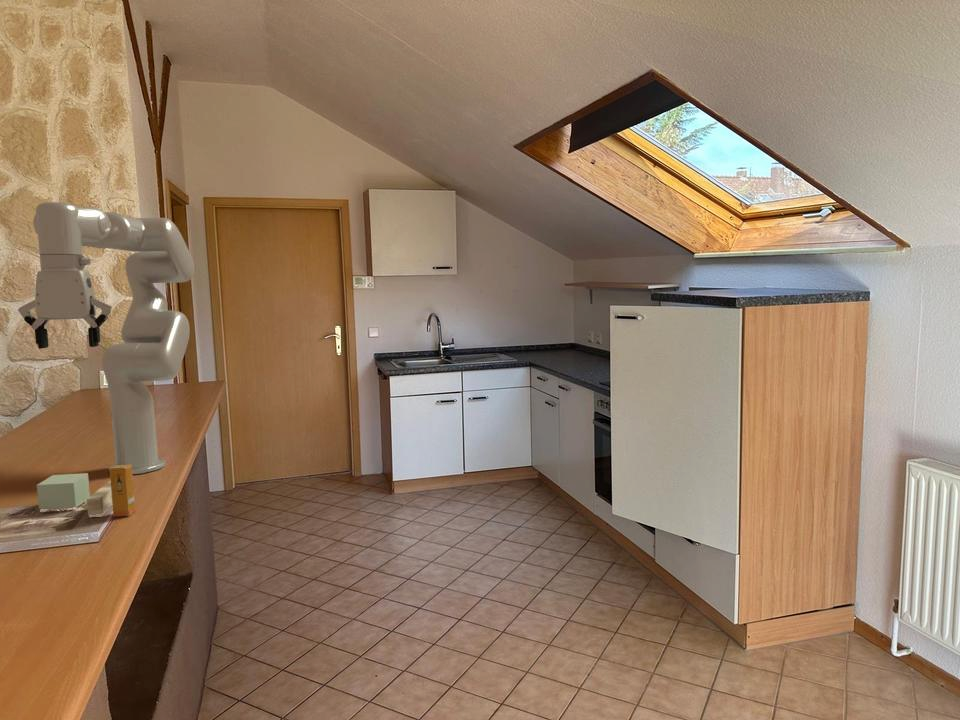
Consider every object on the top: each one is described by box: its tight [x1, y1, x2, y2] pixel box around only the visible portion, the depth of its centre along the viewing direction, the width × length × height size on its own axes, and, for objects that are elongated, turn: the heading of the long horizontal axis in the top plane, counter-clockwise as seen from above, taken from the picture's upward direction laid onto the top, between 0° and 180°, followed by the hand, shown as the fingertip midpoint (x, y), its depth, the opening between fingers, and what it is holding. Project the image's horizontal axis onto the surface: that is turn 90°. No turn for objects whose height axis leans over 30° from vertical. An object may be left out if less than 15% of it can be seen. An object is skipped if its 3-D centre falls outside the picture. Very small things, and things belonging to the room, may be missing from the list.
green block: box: [36, 472, 91, 510], centre depth 142 cm, size 7×7×6 cm
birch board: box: [86, 480, 112, 515], centre depth 143 cm, size 18×2×4 cm, turn 9°
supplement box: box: [109, 465, 137, 518], centre depth 136 cm, size 3×3×10 cm
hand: (69, 347), depth 140 cm, fingers open, 9 cm apart
